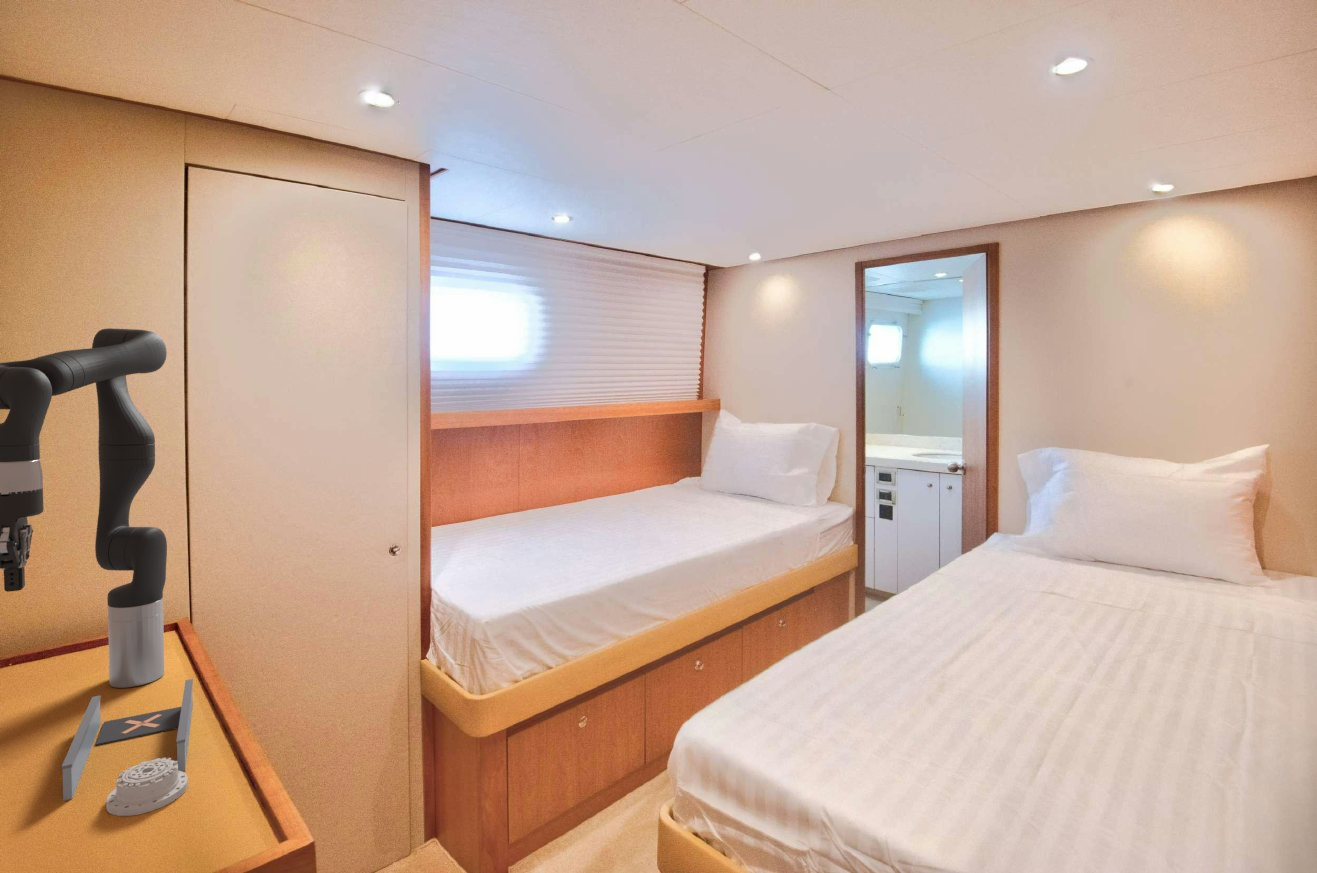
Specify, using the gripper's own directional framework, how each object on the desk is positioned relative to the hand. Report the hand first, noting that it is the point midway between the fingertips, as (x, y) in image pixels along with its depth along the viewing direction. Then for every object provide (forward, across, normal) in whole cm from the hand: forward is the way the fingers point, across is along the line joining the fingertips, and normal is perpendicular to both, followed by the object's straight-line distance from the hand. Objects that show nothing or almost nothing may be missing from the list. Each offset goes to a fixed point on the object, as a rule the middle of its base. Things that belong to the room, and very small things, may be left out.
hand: (14, 589), depth 107 cm
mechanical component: (+30, +24, +19) cm, 42 cm away
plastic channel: (+29, +6, +16) cm, 34 cm away
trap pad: (+29, -2, +16) cm, 33 cm away
